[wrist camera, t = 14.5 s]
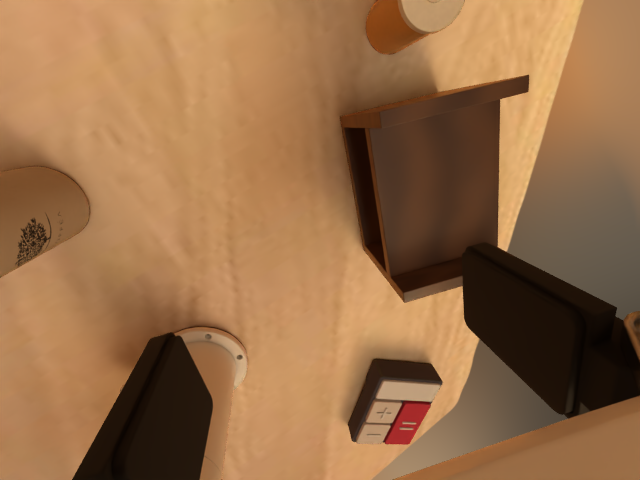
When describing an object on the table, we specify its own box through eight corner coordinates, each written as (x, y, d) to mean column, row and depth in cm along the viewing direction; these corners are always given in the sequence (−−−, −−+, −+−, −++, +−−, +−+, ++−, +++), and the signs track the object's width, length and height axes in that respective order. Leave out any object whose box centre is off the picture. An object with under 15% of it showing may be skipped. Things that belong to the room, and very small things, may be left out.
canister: (368, 61, 32) (411, 34, 23) (360, -1, 30) (403, -59, 20) (416, 50, 32) (478, 19, 23) (411, -12, 30) (477, -74, 21)
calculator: (352, 447, 49) (382, 381, 43) (346, 422, 53) (373, 358, 47) (411, 447, 51) (446, 385, 46) (401, 423, 55) (433, 364, 50)
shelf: (363, 250, 40) (404, 303, 28) (339, 116, 34) (379, 111, 22) (446, 227, 41) (519, 269, 29) (438, 92, 34) (529, 74, 22)
